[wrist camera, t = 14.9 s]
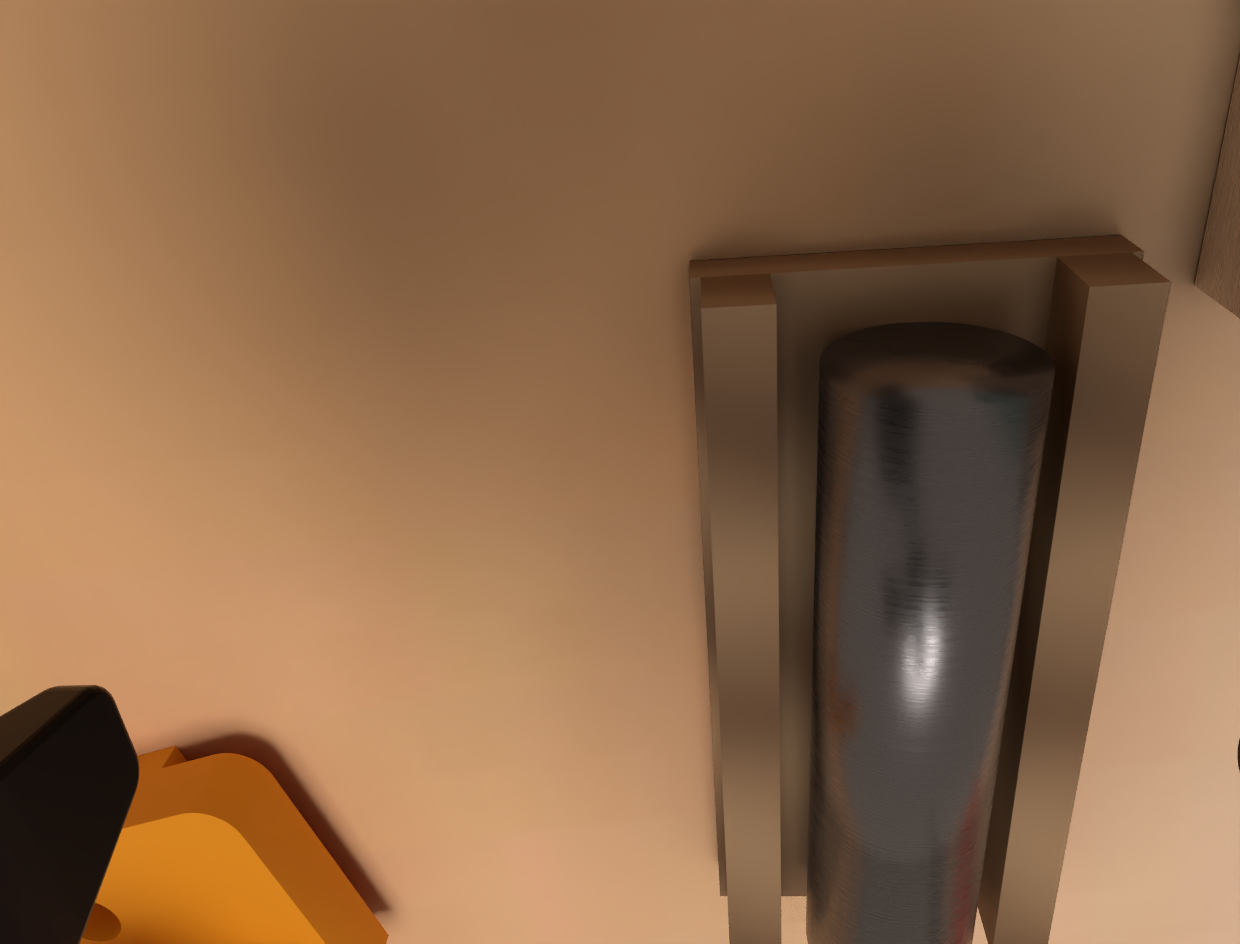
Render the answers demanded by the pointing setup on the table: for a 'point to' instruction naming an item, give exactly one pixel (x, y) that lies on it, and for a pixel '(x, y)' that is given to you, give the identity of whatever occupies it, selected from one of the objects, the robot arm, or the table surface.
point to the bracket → (222, 864)
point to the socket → (1224, 219)
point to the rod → (915, 619)
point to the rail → (786, 521)
